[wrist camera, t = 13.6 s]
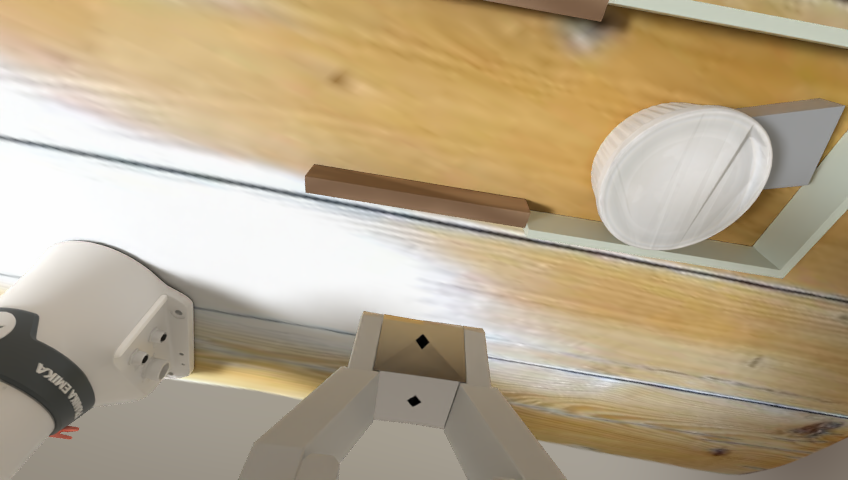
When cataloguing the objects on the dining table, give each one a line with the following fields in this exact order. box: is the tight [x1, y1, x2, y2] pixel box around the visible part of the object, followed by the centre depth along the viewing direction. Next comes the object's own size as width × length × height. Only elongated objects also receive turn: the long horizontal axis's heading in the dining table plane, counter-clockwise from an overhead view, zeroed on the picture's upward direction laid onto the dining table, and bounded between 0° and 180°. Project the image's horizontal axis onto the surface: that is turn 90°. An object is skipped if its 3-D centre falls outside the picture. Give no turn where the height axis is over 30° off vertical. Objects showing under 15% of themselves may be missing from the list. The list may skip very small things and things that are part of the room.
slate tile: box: [735, 98, 845, 189], centre depth 28 cm, size 6×6×2 cm
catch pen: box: [523, 0, 848, 279], centre depth 28 cm, size 18×23×4 cm
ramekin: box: [591, 102, 773, 250], centre depth 28 cm, size 11×11×5 cm
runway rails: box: [305, 0, 609, 228], centre depth 27 cm, size 17×19×2 cm
